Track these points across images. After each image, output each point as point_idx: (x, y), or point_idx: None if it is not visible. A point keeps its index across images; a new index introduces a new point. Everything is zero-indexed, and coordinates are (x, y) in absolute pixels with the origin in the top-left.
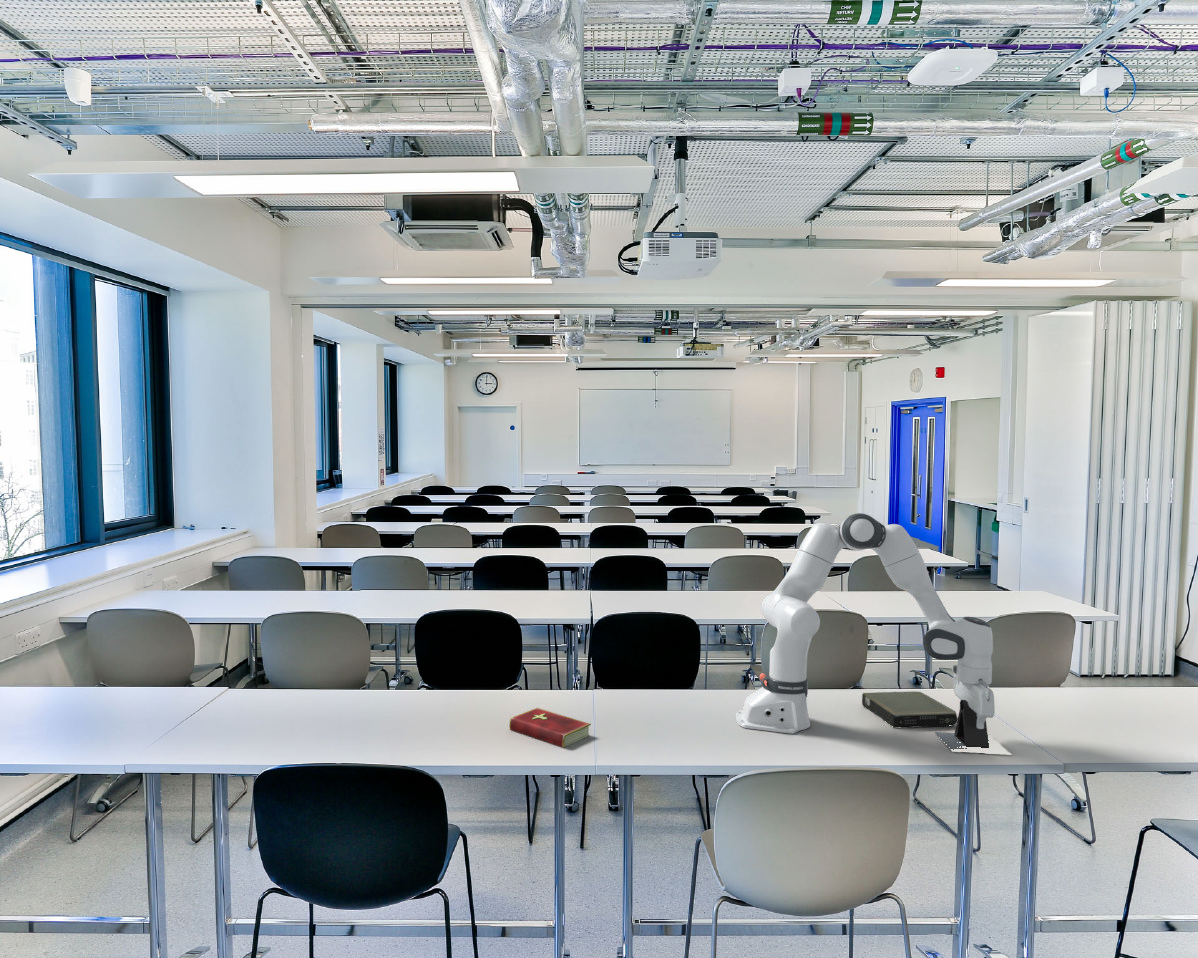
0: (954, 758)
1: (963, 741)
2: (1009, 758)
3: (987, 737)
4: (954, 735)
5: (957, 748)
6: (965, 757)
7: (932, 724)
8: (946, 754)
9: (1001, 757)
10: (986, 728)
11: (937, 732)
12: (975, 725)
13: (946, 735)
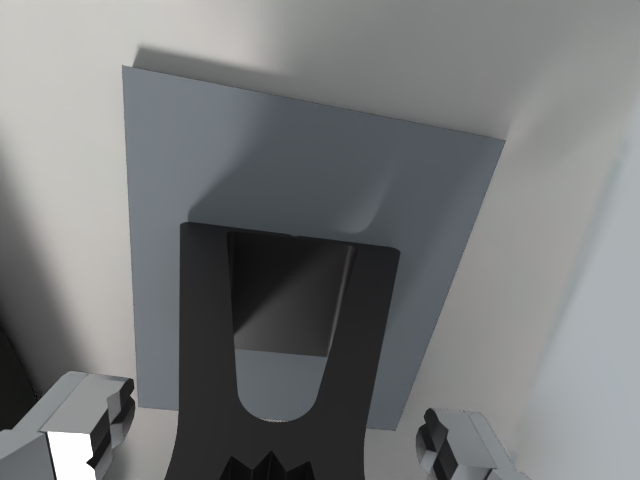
0: None
1: (299, 347)
2: (527, 185)
3: (393, 279)
4: None
5: (375, 401)
6: (455, 395)
7: (22, 387)
8: (408, 446)
9: (500, 226)
10: (387, 317)
11: (146, 398)
12: (422, 457)
13: None
